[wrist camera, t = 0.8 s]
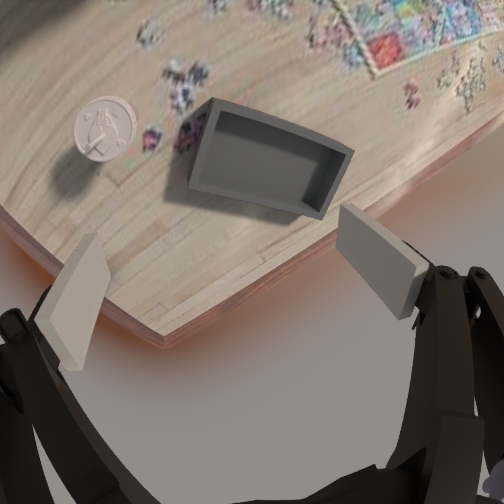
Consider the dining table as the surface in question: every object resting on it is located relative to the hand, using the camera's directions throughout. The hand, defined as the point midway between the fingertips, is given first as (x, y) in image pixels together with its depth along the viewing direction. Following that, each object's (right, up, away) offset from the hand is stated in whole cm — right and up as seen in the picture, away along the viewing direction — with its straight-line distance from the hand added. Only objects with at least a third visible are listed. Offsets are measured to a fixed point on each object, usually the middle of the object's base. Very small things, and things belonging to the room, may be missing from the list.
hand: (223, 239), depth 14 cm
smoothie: (-14, +16, +14) cm, 26 cm away
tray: (+4, +12, +21) cm, 25 cm away
